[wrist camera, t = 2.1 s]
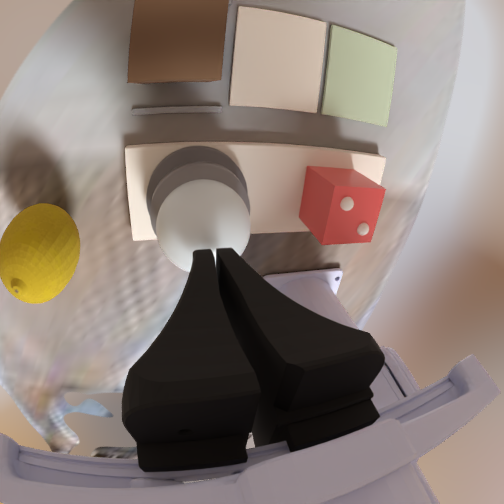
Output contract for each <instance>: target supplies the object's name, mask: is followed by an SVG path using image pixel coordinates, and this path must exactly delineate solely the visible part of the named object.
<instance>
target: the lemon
mask: <svg viewBox="0 0 504 504" xmlns="http://www.w3.org/2000/svg"><path fill="white" fill-rule="evenodd" d="M79 254H80V239H79V233H78V229H77V227H76V225H75V222H74V221H73V219H72V218H71V217H70V215H69V214H68V213H67V212H66V211H65V210H63V209H62V208H60V207H58V206H56V205H52V204H49V203H40V204H36V205H32V206H29V207H27V208H26V209H24V210H23V211H21V212H20V213H19V214H18V215H16V216H15V217H14V218H13V220H12V221H11V222H10V224H9V225H8V227H7V228H6V230H5V232H4V234H3V236H2V239H1V242H0V277H1V279H2V282H3V284H4V285H5V287H6V288H7V289H8V291H9V292H10V293H11V294H12V295H13V296H15V297H16V298H18V299H19V300H21V301H24V302H27V303H43V302H46V301H49V300H51V299H52V298H54V297H55V296H56V295H58V294H59V293H60V292H61V291H62V290H63V289H64V287H65V286H66V285H67V283H68V282H69V281H70V279H71V278H72V276H73V274H74V272H75V269H76V266H77V263H78V260H79Z"/></svg>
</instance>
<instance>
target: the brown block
mask: <svg viewBox="0 0 504 504" xmlns="http://www.w3.org/2000/svg"><path fill="white" fill-rule="evenodd" d="M228 4H229V0H135V3H134V10H133V18H132V27H131V36H130V48H129V62H128V82H127V83H138V84H150V83H170V82H211V81H217V80H221V76H222V64H223V52H224V42H225V31H226V22H227V13H228Z"/></svg>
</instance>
